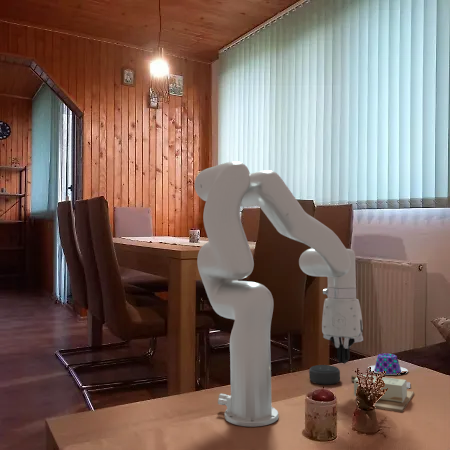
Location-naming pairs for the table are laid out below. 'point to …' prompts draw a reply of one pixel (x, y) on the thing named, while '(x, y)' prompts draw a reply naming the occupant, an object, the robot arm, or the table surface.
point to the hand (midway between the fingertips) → (343, 362)
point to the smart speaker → (324, 374)
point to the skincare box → (390, 389)
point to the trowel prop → (356, 376)
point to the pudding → (387, 364)
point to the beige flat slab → (394, 403)
